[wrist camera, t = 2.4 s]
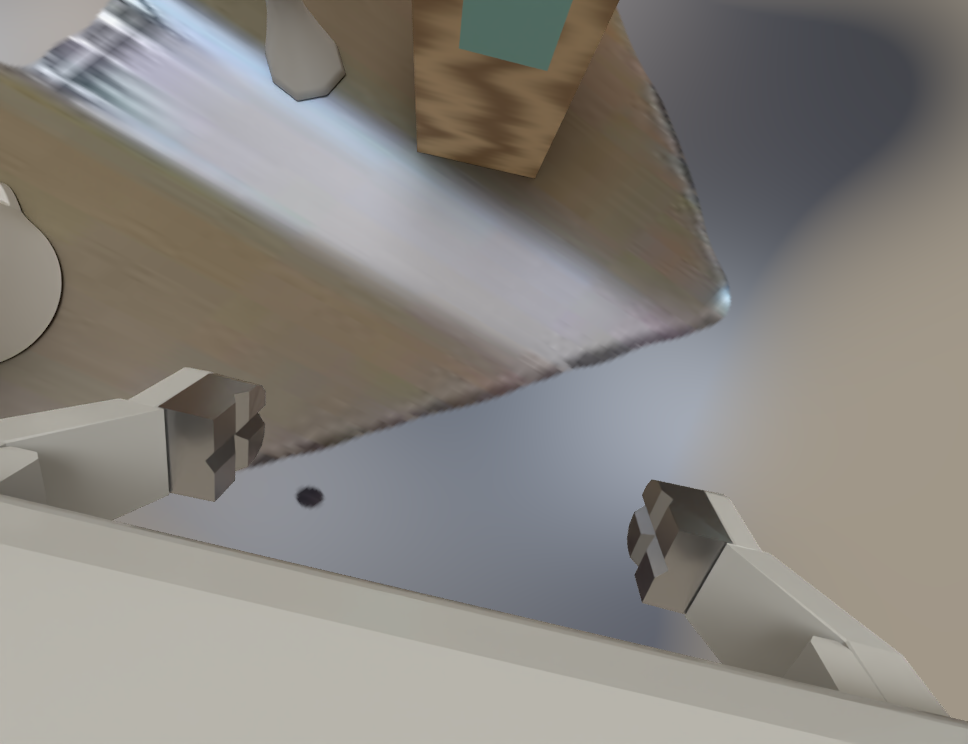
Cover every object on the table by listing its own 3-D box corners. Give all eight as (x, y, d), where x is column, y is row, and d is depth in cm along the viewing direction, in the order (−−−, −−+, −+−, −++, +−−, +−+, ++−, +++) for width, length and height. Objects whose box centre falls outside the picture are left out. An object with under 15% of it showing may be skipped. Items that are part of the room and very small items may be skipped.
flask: (359, 79, 47) (340, -9, 37) (295, 114, 46) (258, 34, 36) (317, 18, 47) (287, -87, 37) (252, 52, 46) (204, -46, 36)
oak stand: (417, 151, 47) (405, -161, 21) (437, 49, 48) (449, -368, 22) (534, 178, 48) (659, -85, 22) (551, 78, 49) (689, -284, 23)
